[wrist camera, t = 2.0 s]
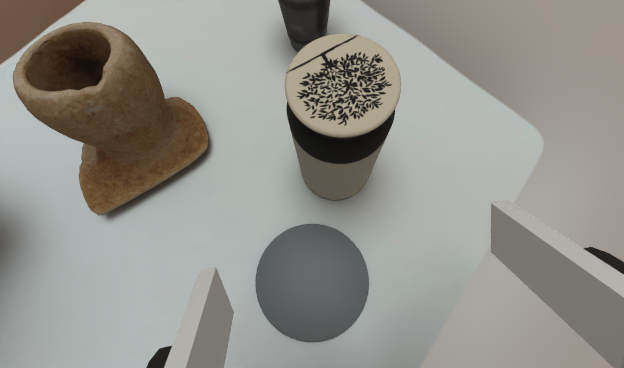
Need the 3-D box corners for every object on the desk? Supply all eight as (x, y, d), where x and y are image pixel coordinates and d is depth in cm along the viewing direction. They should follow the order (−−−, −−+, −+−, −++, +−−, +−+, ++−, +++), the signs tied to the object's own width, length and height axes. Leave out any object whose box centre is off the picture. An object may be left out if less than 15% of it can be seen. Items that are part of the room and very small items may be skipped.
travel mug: (380, 185, 37) (427, 111, 20) (316, 211, 37) (307, 158, 20) (353, 126, 39) (373, 13, 22) (291, 150, 39) (263, 53, 22)
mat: (265, 351, 33) (264, 352, 33) (249, 235, 37) (248, 235, 36) (379, 329, 34) (380, 329, 33) (354, 215, 37) (355, 214, 36)
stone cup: (182, 81, 42) (106, -18, 28) (224, 155, 39) (164, 88, 25) (73, 139, 41) (-66, 67, 26) (108, 220, 38) (-27, 190, 23)
